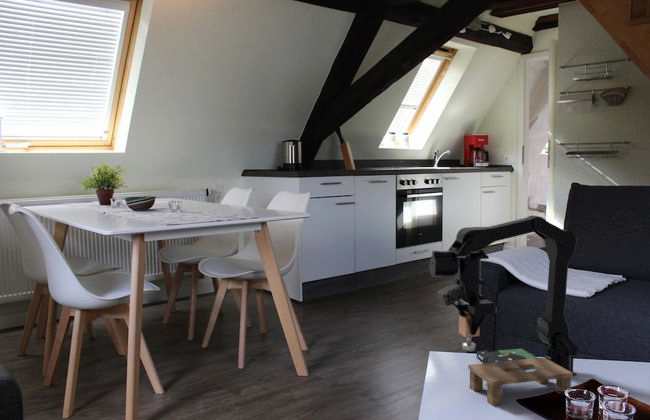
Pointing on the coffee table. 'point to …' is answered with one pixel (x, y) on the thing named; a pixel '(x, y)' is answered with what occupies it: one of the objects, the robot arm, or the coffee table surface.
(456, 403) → the coffee table surface
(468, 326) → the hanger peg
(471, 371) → the wooden slotted stool
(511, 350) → the disk drive
